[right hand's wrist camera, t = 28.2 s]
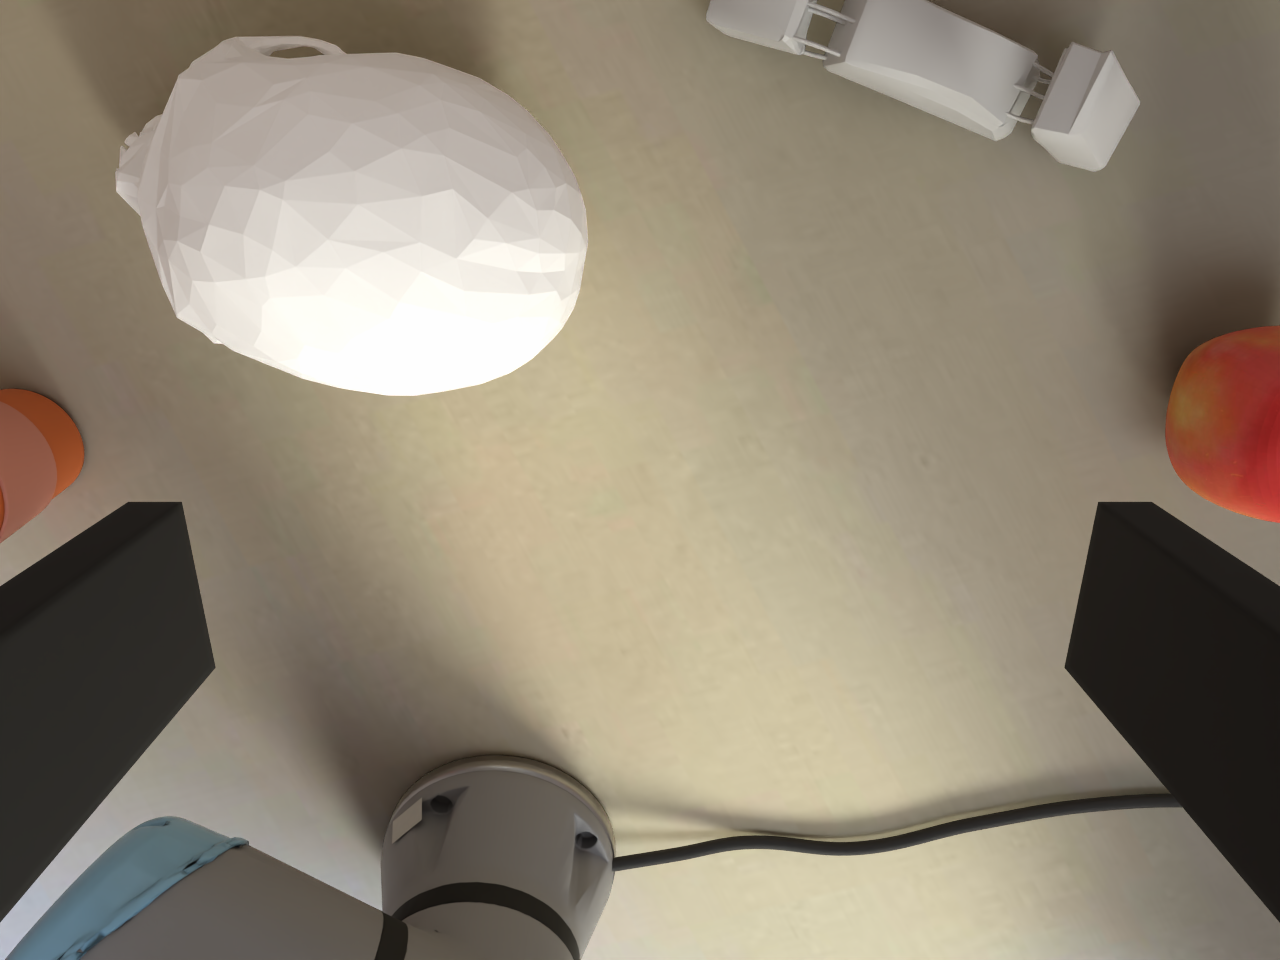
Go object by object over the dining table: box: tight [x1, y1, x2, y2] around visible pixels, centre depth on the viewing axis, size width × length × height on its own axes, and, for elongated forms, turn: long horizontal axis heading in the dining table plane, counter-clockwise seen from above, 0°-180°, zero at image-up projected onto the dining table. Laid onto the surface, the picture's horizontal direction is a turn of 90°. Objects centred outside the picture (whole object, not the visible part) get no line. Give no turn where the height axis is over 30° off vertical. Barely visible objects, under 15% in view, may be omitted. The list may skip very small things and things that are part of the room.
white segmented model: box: [706, 0, 1140, 172], centre depth 38 cm, size 20×4×7 cm, turn 71°
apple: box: [1165, 326, 1280, 523], centre depth 41 cm, size 10×10×10 cm
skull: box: [115, 36, 588, 396], centre depth 35 cm, size 13×22×16 cm, turn 83°
